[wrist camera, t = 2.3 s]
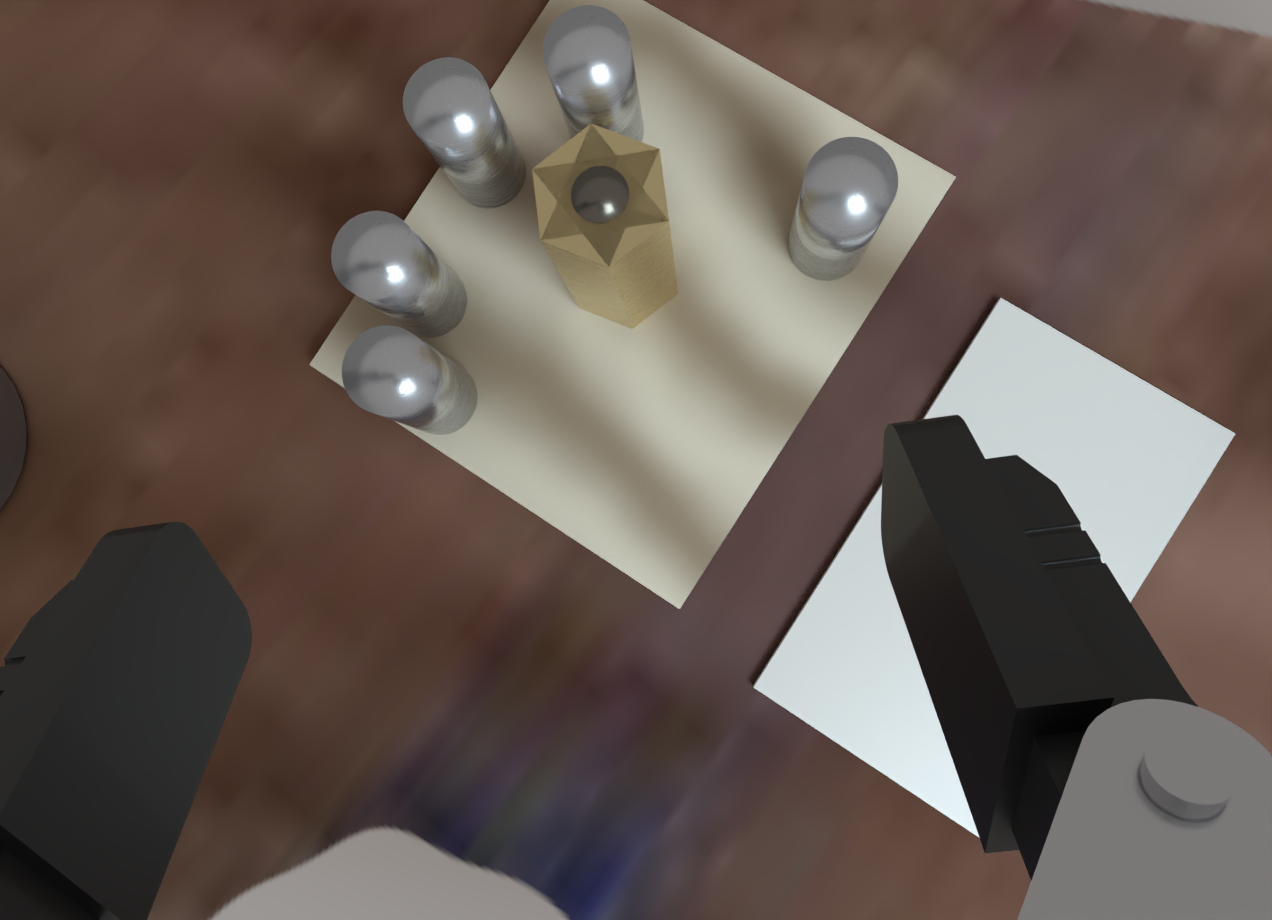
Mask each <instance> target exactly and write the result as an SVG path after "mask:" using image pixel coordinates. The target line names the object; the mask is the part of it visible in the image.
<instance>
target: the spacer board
mask: <svg viewBox="0 0 1272 920" xmlns="http://www.w3.org/2000/svg"><path fill="white" fill-rule="evenodd" d="M585 5H593V6H599V7H603V8H606V9H608V10H610V11H611V12H613V13H614V14H616V15H617V16H618V17H619V18H620V19H621V20H622V21H623V23H624V24H625V26H626V28H627V30H628V33H629V36H630V42H631V48H632V55H633V61H634V67H635V73H636V79H637V86H638V92H639V98H640V104H641V111H642V117H643V123H644V135H643V139H642V142H643V143H645V144H648V145H651V146H653V147H656V148H659V149H660V156H661V163H662V171H663V179H664V186H665V194H666V201H667V209H668V217H669V224H670V232H671V240H672V247H673V255H674V263H675V271H676V278H677V286H678V295H676V296H675V297H674V298H672V299H671V300H670V301H669V302H667V303H666V304H665V305H663V306H662V307H661V308H659V309H658V310H657V311H655V312H654V313H653V314H652V315H650V316H649V317H648V318H646V319H645V320H644V321H642V322H641V323H640V324H638V325H637V326H636V327H635V328H633V329H630V328H628V327H625V326H623V325H620V324H618V323H615V322H613V321H610V320H608V319H605V318H603V317H600V316H598V315H595V314H593V313H590V312H588V311H585V310H583V309H580V308H579V307H578V305H577V303H576V301H575V300H574V298H573V296H572V295H571V293H570V291H569V289H568V288H567V286H566V284H565V282H564V281H563V279H562V277H561V275H560V274H559V272H558V270H557V268H556V267H555V265H554V263H553V261H552V260H551V258H550V256H549V255H548V253H547V251H546V249H545V248H544V246H543V244H542V242H541V241H540V232H539V224H538V215H537V207H536V198H535V189H534V181H533V172H532V169H533V168H534V167H535V166H537V165H538V164H539V163H540V162H542V161H543V160H544V159H546V158H547V157H548V156H550V155H551V154H552V153H553V152H555V151H556V150H557V149H559V148H560V147H561V146H563V145H564V144H565V143H566V142H568V141H569V140H570V139H571V137H570V134H569V131H568V128H567V125H566V123H565V120H564V117H563V114H562V111H561V108H560V105H559V103H558V100H557V97H556V94H555V91H554V88H553V85H552V83H551V80H550V77H549V74H548V71H547V68H546V65H545V62H544V59H543V41H544V37H545V35H546V32H547V30H548V29H549V27H550V25H551V24H552V23H553V21H554V20H555V19H556V18H557V17H559V16H560V15H561V14H563V13H564V12H566V11H568V10H570V9H572V8H575V7H578V6H585ZM490 91H491V93H492V95H493V97H494V99H495V101H496V103H497V105H498V107H499V109H500V111H501V113H502V115H503V117H504V119H505V121H506V123H507V126H508V128H509V130H510V132H511V134H512V136H513V138H514V140H515V142H516V144H517V146H518V148H519V150H520V152H521V154H522V156H523V158H524V161H525V165H526V178H525V182H524V184H523V187H522V189H521V190H520V192H519V193H518V195H517V196H516V197H515V198H514V199H513V200H511V201H510V202H508V203H507V204H505V205H503V206H500V207H497V208H480V207H477V206H474V205H472V204H470V203H469V202H467V201H466V200H465V199H464V198H463V197H462V196H461V194H460V193H459V192H458V190H457V189H456V188H455V186H454V185H453V183H452V182H451V181H450V179H449V178H448V177H447V175H446V174H445V173H444V171H443V170H442V168H441V167H439V169H438V170H437V172H436V173H435V175H434V176H433V178H432V179H431V181H430V182H429V184H428V185H427V187H426V189H425V190H424V192H423V193H422V195H421V196H420V198H419V199H418V201H417V202H416V204H415V205H414V207H413V208H412V210H411V211H410V213H409V214H408V216H407V217H406V219H405V220H404V222H405V223H406V224H407V225H408V226H409V227H410V228H411V229H412V230H413V231H414V232H415V233H416V234H417V235H418V236H419V237H420V238H421V239H422V240H423V241H424V242H425V243H426V244H427V245H428V246H429V247H430V248H431V249H432V250H433V251H434V252H435V253H436V255H437V256H438V257H439V258H440V259H441V260H442V261H443V262H444V263H445V264H446V265H447V266H448V267H449V268H450V269H451V270H452V271H453V272H454V273H455V274H456V275H457V276H458V277H459V278H460V280H461V281H462V283H463V285H464V287H465V290H466V293H467V307H466V311H465V314H464V316H463V318H462V320H461V321H460V323H459V324H458V325H457V326H456V327H455V328H454V329H453V330H452V331H450V332H449V333H447V334H445V335H443V336H439V337H435V338H424V337H420V336H417V335H415V336H417V337H418V338H420V339H421V340H423V341H424V342H425V343H427V344H428V345H430V346H431V347H433V348H434V349H436V350H437V351H439V352H440V353H442V354H443V355H445V356H446V357H448V358H449V359H451V360H452V361H454V362H455V363H457V364H458V365H459V366H461V367H462V368H464V369H465V370H466V371H467V372H468V373H469V374H470V375H471V377H472V379H473V380H474V382H475V385H476V389H477V405H476V409H475V411H474V414H473V416H472V417H471V419H470V420H469V421H468V423H467V424H466V425H465V426H463V427H462V428H461V429H459V430H457V431H455V432H453V433H450V434H445V435H434V434H430V433H427V432H424V431H421V430H419V429H416V428H413V427H410V426H407V425H405V424H402V423H399V422H397V423H398V424H400V425H401V426H403V427H404V428H406V429H407V430H409V431H410V432H412V433H413V434H415V435H416V436H418V437H419V438H421V439H423V440H424V441H426V442H427V443H429V444H430V445H432V446H433V447H435V448H436V449H438V450H439V451H441V452H442V453H444V454H445V455H447V456H448V457H450V458H451V459H453V460H454V461H456V462H457V463H459V464H460V465H462V466H463V467H465V468H466V469H468V470H469V471H471V472H472V473H474V474H476V475H477V476H479V477H480V478H482V479H483V480H485V481H486V482H488V483H489V484H491V485H492V486H494V487H495V488H497V489H498V490H500V491H501V492H503V493H504V494H506V495H507V496H509V497H510V498H512V499H513V500H515V501H516V502H518V503H519V504H521V505H522V506H524V507H526V508H527V509H529V510H530V511H532V512H533V513H535V514H536V515H538V516H539V517H541V518H542V519H544V520H545V521H547V522H548V523H550V524H551V525H553V526H554V527H556V528H557V529H559V530H560V531H562V532H563V533H565V534H566V535H568V536H569V537H571V538H572V539H574V540H576V541H577V542H579V543H580V544H582V545H583V546H585V547H586V548H588V549H589V550H591V551H592V552H594V553H595V554H597V555H598V556H600V557H601V558H603V559H604V560H606V561H607V562H609V563H610V564H612V565H613V566H615V567H616V568H618V569H619V570H621V571H622V572H624V573H625V574H627V575H629V576H630V577H632V578H633V579H635V580H636V581H638V582H639V583H641V584H642V585H644V586H645V587H647V588H648V589H650V590H651V591H653V592H654V593H656V594H657V595H659V596H660V597H662V598H663V599H665V600H666V601H668V602H669V603H671V604H672V605H674V606H675V607H677V608H679V609H680V608H681V606H682V605H683V603H684V602H685V600H686V598H687V597H688V595H689V594H690V592H691V591H692V589H693V587H694V586H695V584H696V583H697V581H698V580H699V578H700V577H701V575H702V573H703V572H704V570H705V569H706V567H707V566H708V564H709V562H710V561H711V559H712V558H713V556H714V555H715V553H716V552H717V550H718V548H719V547H720V545H721V544H722V542H723V541H724V539H725V537H726V536H727V534H728V533H729V531H730V530H731V528H732V527H733V525H734V523H735V522H736V520H737V519H738V517H739V516H740V514H741V512H742V511H743V509H744V508H745V506H746V505H747V503H748V502H749V500H750V498H751V497H752V495H753V494H754V492H755V491H756V489H757V487H758V486H759V484H760V483H761V481H762V480H763V478H764V476H765V475H766V473H767V472H768V470H769V469H770V467H771V466H772V464H773V462H774V461H775V459H776V458H777V456H778V455H779V453H780V451H781V450H782V448H783V447H784V445H785V444H786V442H787V441H788V439H789V437H790V436H791V434H792V433H793V431H794V430H795V428H796V426H797V425H798V423H799V422H800V420H801V419H802V417H803V416H804V414H805V412H806V411H807V409H808V408H809V406H810V405H811V403H812V401H813V400H814V398H815V397H816V395H817V394H818V392H819V391H820V389H821V387H822V386H823V384H824V383H825V381H826V380H827V378H828V376H829V375H830V373H831V372H832V370H833V369H834V367H835V366H836V364H837V362H838V361H839V359H840V358H841V356H842V355H843V353H844V351H845V350H846V348H847V347H848V345H849V344H850V342H851V341H852V339H853V337H854V336H855V334H856V333H857V331H858V330H859V328H860V326H861V325H862V323H863V322H864V320H865V319H866V317H867V315H868V314H869V312H870V311H871V309H872V308H873V306H874V305H875V303H876V301H877V300H878V298H879V297H880V295H881V294H882V292H883V290H884V289H885V287H886V286H887V284H888V283H889V281H890V280H891V278H892V276H893V275H894V273H895V272H896V270H897V269H898V267H899V265H900V264H901V262H902V261H903V259H904V258H905V256H906V255H907V253H908V251H909V250H910V248H911V247H912V245H913V244H914V242H915V240H916V239H917V237H918V236H919V234H920V233H921V231H922V230H923V228H924V226H925V225H926V223H927V222H928V220H929V219H930V217H931V215H932V214H933V212H934V211H935V209H936V208H937V206H938V205H939V203H940V201H941V200H942V198H943V197H944V195H945V194H946V192H947V190H948V189H949V187H950V186H951V184H952V183H953V181H954V180H955V178H956V177H955V176H953V175H952V174H950V173H948V172H946V171H945V170H943V169H941V168H939V167H937V166H936V165H934V164H932V163H930V162H929V161H927V160H925V159H923V158H921V157H920V156H918V155H916V154H914V153H913V152H911V151H909V150H907V149H906V148H904V147H902V146H900V145H898V144H897V143H895V142H893V141H891V140H890V139H888V138H886V137H884V136H883V135H881V134H879V133H877V132H875V131H874V130H872V129H870V128H868V127H867V126H865V125H863V124H861V123H859V122H858V121H856V120H854V119H852V118H851V117H849V116H847V115H845V114H844V113H842V112H840V111H838V110H836V109H835V108H833V107H831V106H829V105H828V104H826V103H824V102H822V101H820V100H819V99H817V98H815V97H813V96H812V95H810V94H808V93H806V92H805V91H803V90H801V89H799V88H797V87H796V86H794V85H792V84H790V83H789V82H787V81H785V80H783V79H782V78H780V77H778V76H776V75H774V74H773V73H771V72H769V71H767V70H766V69H764V68H762V67H760V66H758V65H757V64H755V63H753V62H751V61H750V60H748V59H746V58H744V57H743V56H741V55H739V54H737V53H735V52H734V51H732V50H730V49H728V48H727V47H725V46H723V45H721V44H720V43H718V42H716V41H714V40H712V39H711V38H709V37H707V36H705V35H704V34H702V33H700V32H698V31H696V30H695V29H693V28H691V27H689V26H688V25H686V24H684V23H682V22H681V21H679V20H677V19H675V18H673V17H672V16H670V15H668V14H666V13H665V12H663V11H661V10H659V9H657V8H656V7H654V6H652V5H650V4H649V3H647V2H645V1H643V0H549V2H548V3H547V5H546V6H545V8H544V9H543V11H542V13H541V14H540V16H539V17H538V19H537V20H536V22H535V23H534V25H533V26H532V28H531V29H530V31H529V32H528V34H527V35H526V37H525V38H524V40H523V41H522V43H521V44H520V46H519V47H518V49H517V50H516V52H515V53H514V55H513V57H512V58H511V60H510V61H509V63H508V64H507V66H506V67H505V69H504V70H503V72H502V73H501V75H500V76H499V78H498V79H497V81H496V82H495V84H494V85H493V87H492V88H491V90H490ZM844 137H860V138H865V139H868V140H871V141H873V142H875V143H877V144H878V145H880V146H881V147H882V148H883V149H885V150H886V151H887V153H888V154H889V155H890V156H891V158H892V159H893V161H894V163H895V166H896V169H897V173H898V189H897V193H896V196H895V199H894V201H893V202H892V204H891V206H890V208H889V210H888V212H887V213H886V215H885V217H884V219H883V221H882V222H881V224H880V226H879V228H878V230H877V231H876V233H875V235H874V237H873V239H872V241H871V242H870V244H869V246H868V248H867V250H866V251H865V253H864V255H863V257H862V259H861V261H860V262H859V264H858V265H857V267H856V268H855V269H854V270H853V271H852V272H850V273H849V274H847V275H846V276H844V277H842V278H839V279H836V280H831V281H821V280H816V279H813V278H810V277H808V276H806V275H804V274H803V273H802V272H800V271H799V270H798V269H797V268H796V266H795V265H794V264H793V262H792V260H791V258H790V255H789V252H788V236H789V232H790V229H791V225H792V221H793V217H794V213H795V210H796V206H797V202H798V198H799V194H800V191H801V187H802V183H803V179H804V176H805V172H806V168H807V166H808V163H809V162H810V160H811V158H812V157H813V155H814V154H815V153H816V152H817V151H818V150H819V149H820V148H821V147H823V146H824V145H825V144H827V143H829V142H831V141H833V140H836V139H839V138H844ZM385 325H390V326H397V327H400V328H403V327H402V326H400V325H399V324H398V323H396V322H395V321H393V320H392V319H390V318H389V317H387V316H386V315H384V314H383V313H381V312H380V311H378V310H377V309H375V308H374V307H372V306H371V305H369V304H368V303H366V302H365V301H364V300H362V299H361V298H359V297H358V296H356V295H355V296H354V298H353V299H352V301H351V302H350V304H349V305H348V307H347V308H346V310H345V311H344V313H343V314H342V316H341V317H340V319H339V321H338V322H337V324H336V325H335V327H334V328H333V330H332V331H331V333H330V334H329V336H328V337H327V339H326V340H325V342H324V343H323V345H322V346H321V348H320V349H319V351H318V352H317V354H316V355H315V357H314V358H313V360H312V361H311V363H310V366H312V367H313V368H315V369H316V370H318V371H319V372H321V373H323V374H324V375H326V376H327V377H329V378H330V379H332V380H333V381H335V382H336V383H338V384H339V385H341V386H342V387H344V384H343V380H342V363H343V359H344V356H345V353H346V351H347V349H348V348H349V346H350V345H351V343H352V342H353V341H354V340H355V339H356V338H357V337H358V336H359V335H360V334H362V333H363V332H365V331H367V330H369V329H371V328H374V327H377V326H385ZM403 329H405V328H403ZM405 330H406V329H405ZM407 331H408V330H407ZM412 334H413V333H412ZM344 388H345V387H344ZM395 422H396V421H395Z"/></svg>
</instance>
